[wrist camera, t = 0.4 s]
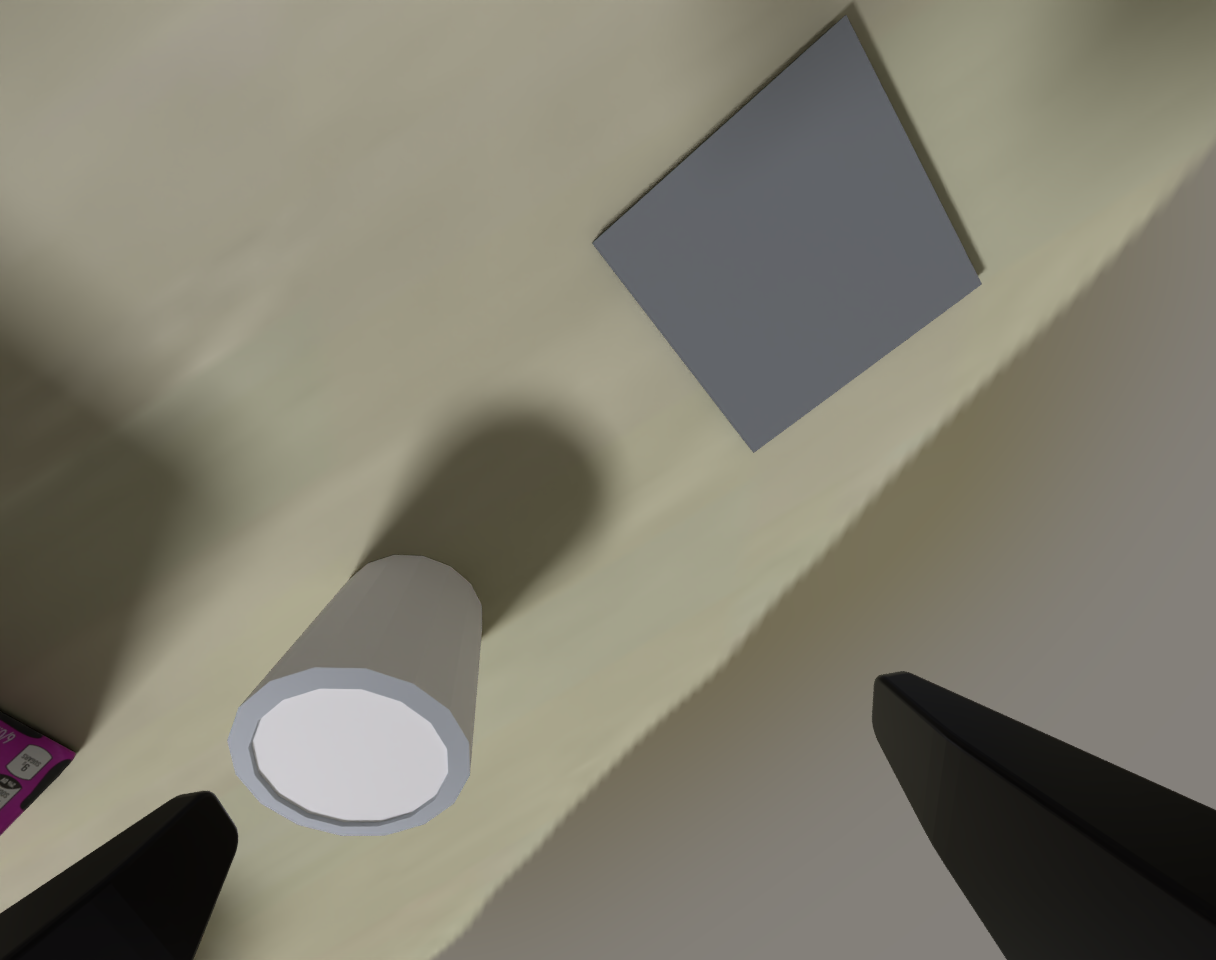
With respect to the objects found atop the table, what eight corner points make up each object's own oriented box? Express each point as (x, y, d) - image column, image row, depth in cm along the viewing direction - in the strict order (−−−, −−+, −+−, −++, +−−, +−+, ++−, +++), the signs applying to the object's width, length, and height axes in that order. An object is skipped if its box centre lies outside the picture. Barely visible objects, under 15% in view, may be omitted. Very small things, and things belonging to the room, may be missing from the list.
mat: (591, 242, 18) (592, 243, 17) (838, 20, 16) (846, 14, 15) (749, 448, 21) (753, 452, 20) (971, 282, 19) (981, 284, 18)
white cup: (514, 560, 22) (491, 693, 16) (481, 692, 25) (449, 852, 18) (332, 523, 21) (227, 648, 15) (317, 665, 24) (222, 825, 17)
